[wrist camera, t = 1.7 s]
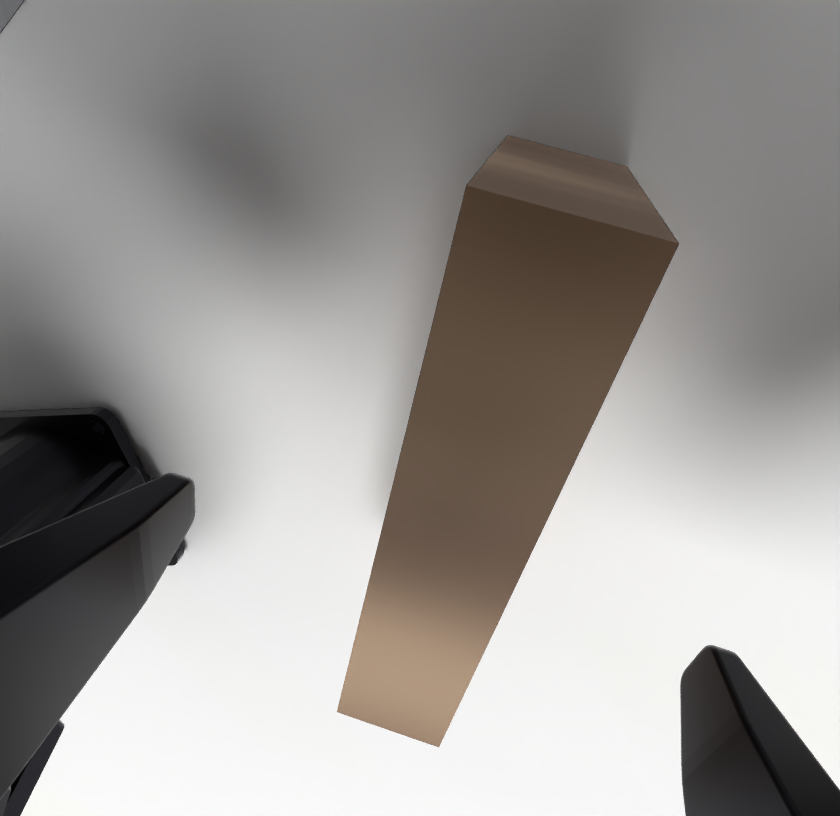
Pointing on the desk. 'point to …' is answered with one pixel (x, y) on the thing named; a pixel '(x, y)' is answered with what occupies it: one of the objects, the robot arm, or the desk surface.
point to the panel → (499, 416)
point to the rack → (8, 10)
